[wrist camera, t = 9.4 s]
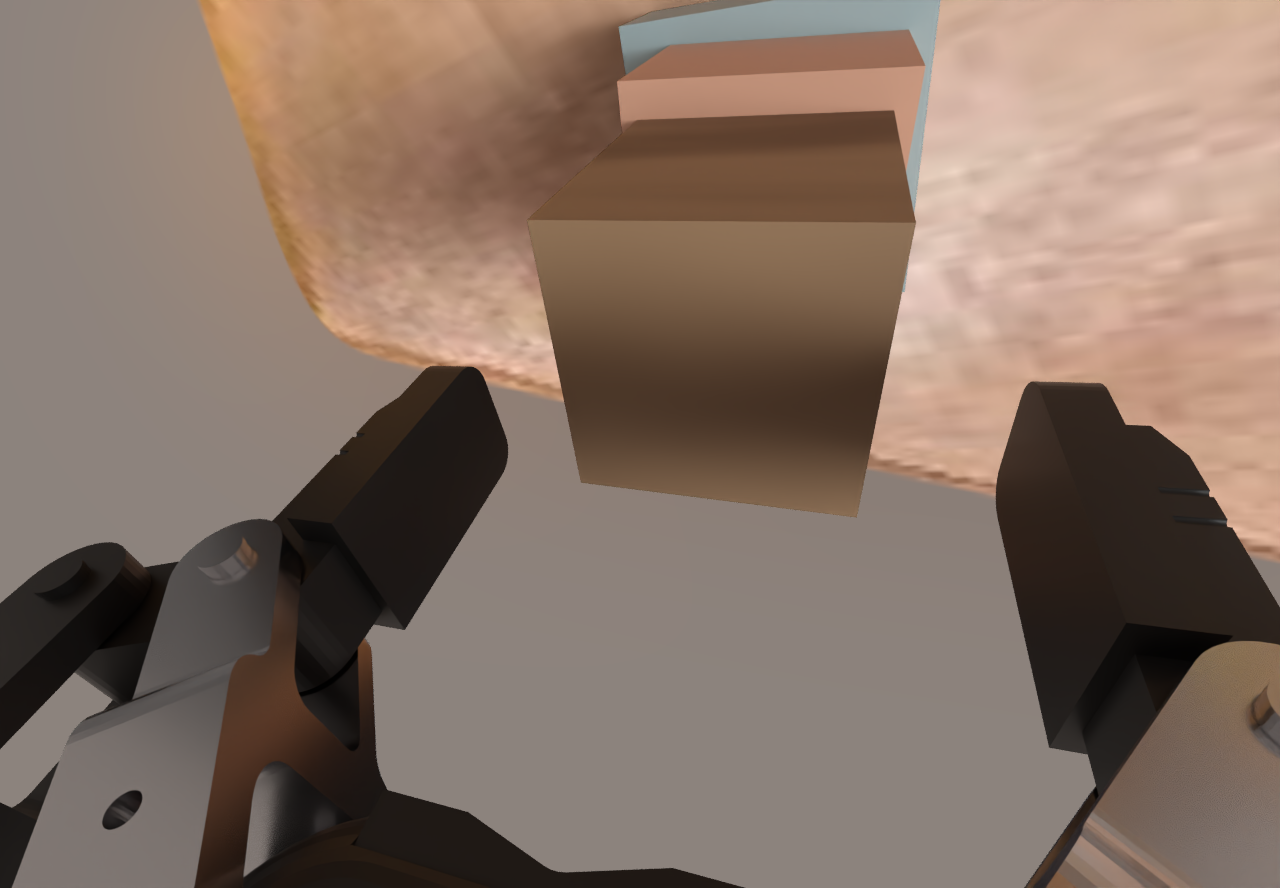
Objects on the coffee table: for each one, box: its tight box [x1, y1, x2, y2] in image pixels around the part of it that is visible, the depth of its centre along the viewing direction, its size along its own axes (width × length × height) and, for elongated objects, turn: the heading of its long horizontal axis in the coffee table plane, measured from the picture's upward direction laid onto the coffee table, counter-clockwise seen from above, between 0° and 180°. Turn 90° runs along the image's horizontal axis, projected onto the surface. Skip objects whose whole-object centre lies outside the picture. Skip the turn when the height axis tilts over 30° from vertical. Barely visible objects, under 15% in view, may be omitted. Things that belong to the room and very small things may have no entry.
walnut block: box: [527, 110, 916, 517], centre depth 12 cm, size 5×5×6 cm
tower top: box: [617, 30, 926, 170], centre depth 16 cm, size 6×6×5 cm
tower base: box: [619, 0, 940, 292], centre depth 19 cm, size 8×8×4 cm
